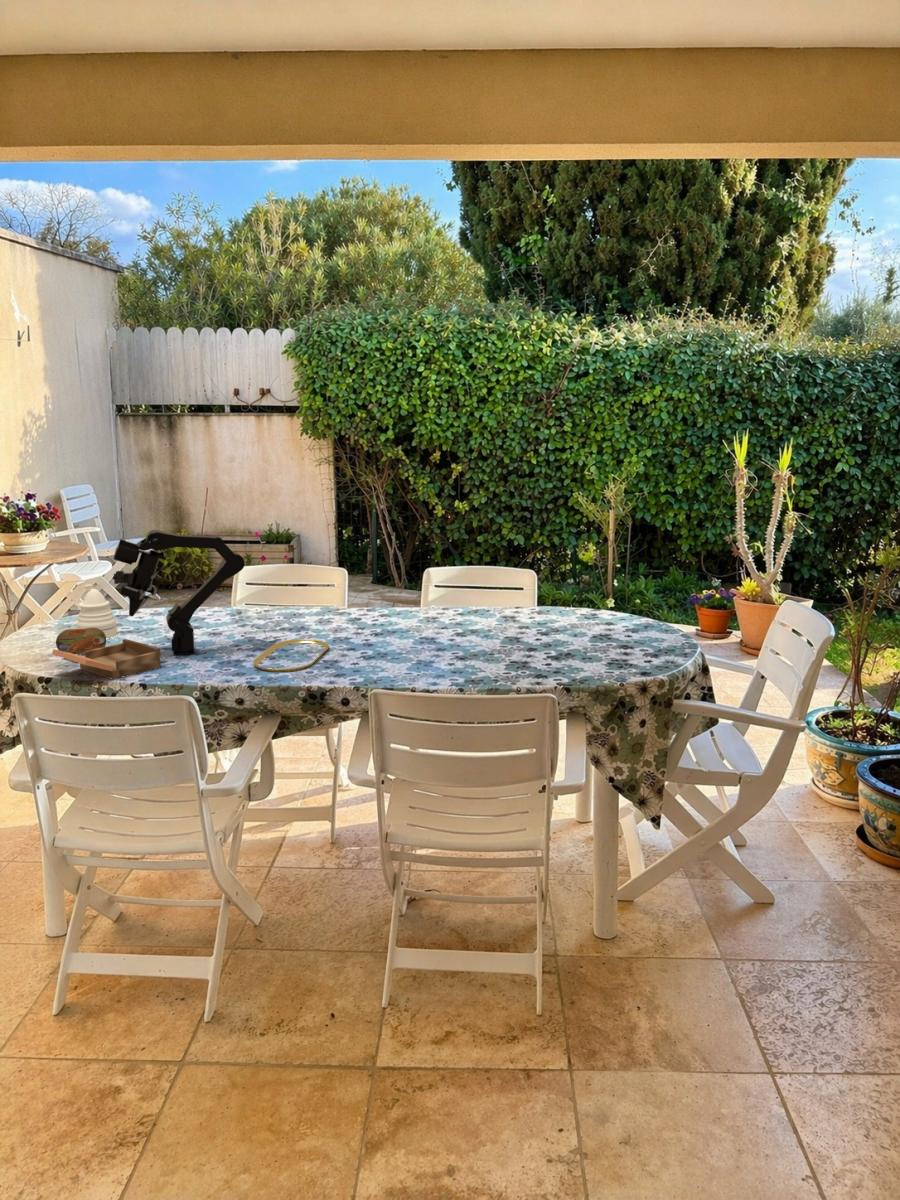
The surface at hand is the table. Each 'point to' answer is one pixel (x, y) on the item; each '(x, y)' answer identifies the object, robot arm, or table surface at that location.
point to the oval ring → (283, 645)
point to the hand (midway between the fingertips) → (131, 615)
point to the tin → (80, 640)
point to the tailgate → (82, 660)
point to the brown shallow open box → (124, 658)
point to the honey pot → (96, 613)
